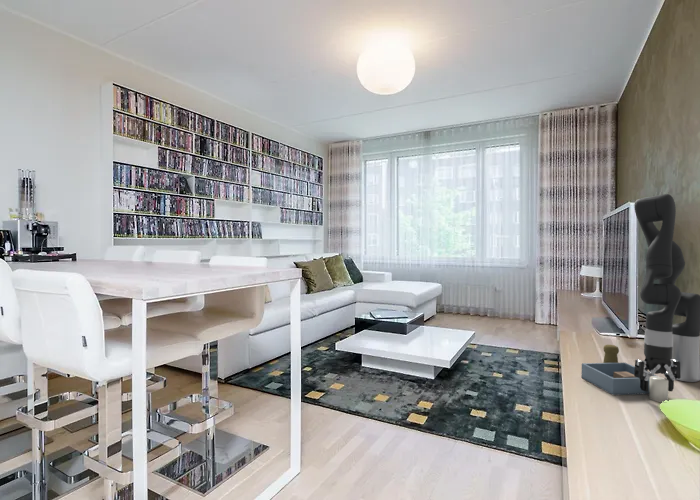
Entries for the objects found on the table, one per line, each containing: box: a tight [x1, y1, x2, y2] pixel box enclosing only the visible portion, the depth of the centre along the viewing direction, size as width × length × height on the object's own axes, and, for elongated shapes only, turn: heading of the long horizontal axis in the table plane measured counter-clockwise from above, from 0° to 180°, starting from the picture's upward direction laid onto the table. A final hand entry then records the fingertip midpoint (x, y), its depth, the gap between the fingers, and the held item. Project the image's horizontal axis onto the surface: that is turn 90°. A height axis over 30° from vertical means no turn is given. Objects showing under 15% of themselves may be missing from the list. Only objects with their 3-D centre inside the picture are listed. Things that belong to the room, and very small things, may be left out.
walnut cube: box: [613, 372, 637, 378], centre depth 139 cm, size 5×5×5 cm
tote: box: [581, 362, 657, 396], centre depth 143 cm, size 18×17×6 cm
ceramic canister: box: [648, 375, 669, 403], centre depth 131 cm, size 5×5×7 cm
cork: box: [602, 344, 620, 363], centre depth 157 cm, size 6×6×11 cm
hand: (656, 390), depth 131 cm, fingers open, 8 cm apart
